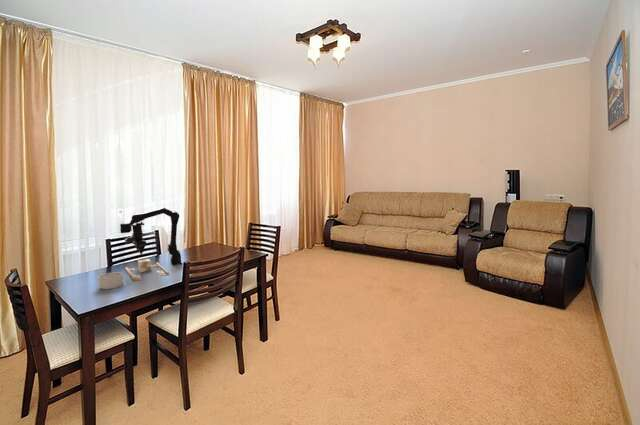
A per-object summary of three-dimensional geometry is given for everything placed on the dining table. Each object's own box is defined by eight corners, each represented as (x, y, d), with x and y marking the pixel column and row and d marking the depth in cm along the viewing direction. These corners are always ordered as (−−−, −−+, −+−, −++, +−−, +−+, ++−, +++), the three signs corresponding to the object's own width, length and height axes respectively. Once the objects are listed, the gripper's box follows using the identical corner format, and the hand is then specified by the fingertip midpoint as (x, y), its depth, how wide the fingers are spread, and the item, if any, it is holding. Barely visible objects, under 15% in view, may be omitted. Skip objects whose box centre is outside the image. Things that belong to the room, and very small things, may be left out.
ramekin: (119, 281, 213) (118, 270, 212) (127, 285, 205) (126, 274, 204) (95, 287, 203) (94, 276, 202) (103, 291, 194) (102, 280, 194)
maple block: (149, 268, 241) (148, 258, 240) (151, 270, 236) (150, 260, 235) (138, 269, 237) (137, 260, 236) (140, 272, 232) (139, 262, 231)
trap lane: (157, 264, 251) (157, 262, 251) (168, 274, 226) (168, 272, 226) (125, 269, 238) (125, 267, 238) (133, 281, 213) (133, 278, 213)
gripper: (122, 231, 239) (124, 252, 241) (127, 235, 225) (129, 257, 227) (139, 229, 246) (141, 249, 248) (145, 232, 232) (147, 254, 234)
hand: (139, 253), depth 239 cm, fingers open, 9 cm apart
